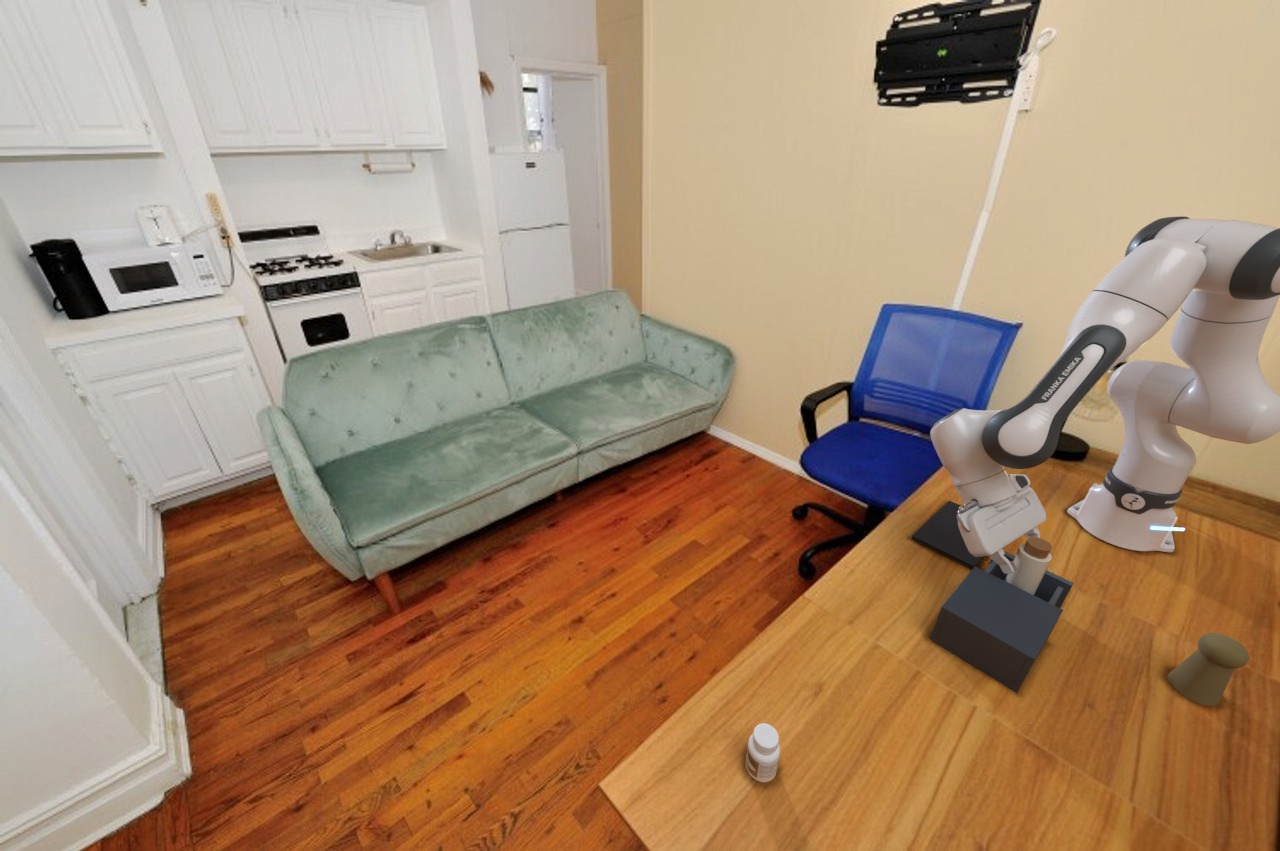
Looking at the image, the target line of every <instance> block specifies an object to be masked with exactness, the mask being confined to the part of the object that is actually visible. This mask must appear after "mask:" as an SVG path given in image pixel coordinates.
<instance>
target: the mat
mask: <svg viewBox="0 0 1280 851" xmlns="http://www.w3.org/2000/svg"><path fill="white" fill-rule="evenodd" d="M960 506H962V505H961V504H959V503H956V502H954V501H951V500H947V502H946V503H945V504H944V505H943V506H942V507H941V508H939V509H938V510H937V511H936V512H935V513H934V514H933V515H932V516H931V517H930V518H929V519H928V520H927V521H926V522H925V523H923V525H921V526H920V527H919V528H918V530H916V531H915V532H914V533H913V534H912V535H911V538H910V539H911V540H913V541H915V542H917V543H919V544H921V545H923V546H925V547H927V548H928V549H931V550H932V551H935V552H936V553H938V554H940V555H942V556H945V557H946V558H949V559H950V560H953V561H955V562H956V563H958V564H961V565H962V566H964V567H966V568H969V569H971V570H972V569H973V568H974V567H978V565H979V564H980V563H981V561H982V560H983V559H984V558H985V556H983V557H975V556H973V555H972V554H971V553H970V552H969V551H968V549H967V547H966V544H965V542H964V540H963V537H962V535H961V532H960V529H959V526H958V519H957V514H958V508H959V507H960Z"/></svg>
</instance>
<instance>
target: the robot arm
mask: <svg viewBox="0 0 1280 851" xmlns="http://www.w3.org/2000/svg"><path fill="white" fill-rule="evenodd" d="M1279 299H1280V228H1279V227H1275V226H1271V225H1266V224H1262V223H1256V222H1251V221H1243V220H1237V219H1228V220H1226V219H1215V218H1190V217H1188V216H1168V217H1166V216H1165V217H1161V218H1158V219H1155V220H1154V221H1151V222H1150V223H1149V224H1147V225H1145V226H1144V227H1142V228H1140V230H1139V231H1137V233H1135V234H1134V236H1133V237H1132V238H1131V240H1130V242H1129V243H1128V245H1127V247H1126V249H1125V254H1124V257H1123V258H1122V259H1121V260H1120V261H1119V262H1118V263H1117V264H1116V265H1115V266H1114V267H1113V268H1112V269H1111V270H1110V271H1108V273H1107V274H1106V275H1105V276H1104V277H1103V278H1102V279H1101V280H1100V281H1099V283H1097V285H1096V286H1095V287H1094V288H1093V290H1092V291H1091V292H1089V294H1088V295H1087V297H1085V299H1084V300H1083V301H1082V303H1081V304H1080V306H1079V308H1078V309H1077V311H1076V312H1075V314H1074V316H1073V317H1072V319H1071V321H1070V322H1069V324H1068V326H1067V329H1066V334H1065V341H1064V344H1063V347H1062V349H1061V351H1060V353H1059V355H1058V356H1057V358H1056V360H1055V361H1054V363H1053V364H1052V365H1051V366H1050V367H1049V368H1048V369H1047V371H1046V372H1045V374H1044V375H1043V376H1042V377H1041V379H1040V380H1038V382H1037V383H1036V384H1035V385H1034V387H1033V388H1032V389H1031V390H1030V391H1029V392H1028V394H1027V395H1026V396H1025V397H1024V398H1023V399H1022V400H1021V401H1019V402H1018V403H1017V404H1015V405H1013V406H1012V407H1009V408H1005V409H994V410H992V409H991V410H990V409H989V410H983V409H982V410H981V409H979V410H978V409H970V408H969V409H968V408H966V407H965V408H964V407H963V408H957V409H956V410H954V411H952V412H949V413H948V414H947V415H945V416H943V417H942V418H940V419H939V420H937V421H936V422H934V424H933V425H932V427H931V428H930V432H929V435H930V439H931V443H932V445H933V448H934V450H935V452H936V454H937V456H938V458H939V460H940V463H941V464H942V467H943V468H944V469H945V470H946V471H947V472H948V473H949V474H950V477H951V480H952V485H953V487H954V489H955V491H956V492H957V495H958V496H959V498H960V500H961V502H962V505H961V506H960V507H959V508H958V514H957V519H958V526H959V529H960V532H961V535H962V537H963V540H964V542H965V544H966V547H967V549H968V551H969V552H970V553H971V554H972V555H973V556H975V557H983V556H984V557H989V559H990V560H991V559H992V560H993V561H994V562H996V563H997V564H998V565H999V566H1000V568H1001V570H1002V571H1003V573H1005V574H1010V573H1013V572H1014V571H1016V570H1017V568H1016V566H1015V564H1014V562H1013V561H1009V560H1008V559H1007V558H1006V557H1005V556H1004V554H1005V553H1004V551H1005V550H1004V548H1006V547H1007V546H1009V545H1010V544H1011V543H1013V542H1015V541H1016V540H1018V539H1020V538H1022V536H1026V540H1027V539H1028V538H1029V537H1038V538H1041V532H1040V530H1039V529H1038V526H1040V525H1042V524H1043V523H1045V522H1046V521H1047V513H1046V510H1045V508H1044V506H1043V504H1042V502H1041V500H1040V498H1039V496H1038V495H1037V493H1036V492H1035V490H1034V488H1032V487H1030V485H1031V480H1030V478H1029V477H1028V476H1027V474H1023V473H1022V474H1021V473H1020V474H1019V473H1018V474H1016V473H1007V471H1006V468H1009V469H1013V470H1026V469H1027V470H1028V469H1031V468H1035V467H1038V466H1040V465H1042V464H1044V463H1046V461H1048V460H1049V459H1050V458H1051V457H1052V456H1053V454H1054V453H1055V452H1056V449H1057V446H1058V444H1059V439H1060V434H1061V431H1062V427H1063V424H1064V422H1065V421H1066V420H1067V418H1068V417H1069V416H1070V415H1071V413H1072V412H1073V411H1074V410H1075V408H1076V407H1077V406H1078V405H1079V404H1080V403H1081V401H1082V400H1083V399H1084V398H1085V397H1086V396H1087V395H1088V393H1089V392H1090V391H1091V390H1092V388H1093V387H1094V386H1095V385H1096V384H1097V383H1098V382H1099V381H1100V380H1101V379H1102V377H1104V375H1106V374H1107V373H1108V372H1109V371H1110V370H1112V369H1113V368H1114V367H1116V366H1118V364H1120V363H1122V362H1123V361H1125V360H1126V359H1127V358H1129V357H1131V355H1132V354H1134V353H1135V352H1137V351H1138V350H1139V349H1140V348H1142V347H1143V346H1144V345H1145V344H1146V343H1148V342H1149V341H1150V340H1151V339H1152V338H1153V337H1154V336H1155V335H1156V334H1157V333H1158V332H1159V331H1160V330H1161V329H1162V328H1163V327H1165V325H1166V324H1167V323H1168V321H1169V320H1171V318H1172V317H1173V316H1174V315H1175V314H1176V312H1177V311H1178V310H1179V308H1180V310H1179V313H1178V316H1177V318H1176V321H1175V323H1174V326H1173V329H1172V333H1171V335H1170V338H1169V344H1170V348H1171V351H1172V353H1173V354H1174V355H1175V357H1177V358H1178V359H1179V360H1180V361H1181V362H1183V363H1184V364H1185V365H1186V366H1187V367H1185V366H1181V365H1177V364H1173V363H1169V362H1165V361H1159V360H1158V361H1157V360H1147V359H1132V360H1131V361H1128V362H1126V363H1124V364H1122V365H1120V366H1119V367H1118V368H1117V369H1115V371H1114V372H1113V373H1112V374H1111V375H1110V377H1109V380H1108V382H1107V392H1108V396H1109V399H1110V400H1112V402H1113V403H1114V404H1115V406H1116V407H1117V409H1118V410H1119V412H1120V414H1121V417H1122V420H1123V424H1124V433H1125V434H1124V441H1123V444H1122V446H1121V449H1120V452H1119V454H1118V457H1117V459H1116V460H1115V463H1114V465H1113V466H1112V467H1110V468H1109V470H1108V471H1107V472H1106V474H1105V476H1104V478H1103V481H1102V482H1101V483H1100V484H1098V483H1093V484H1092V485H1091V486H1090V487H1089V489H1088V492H1087V493H1086V496H1085V498H1084V499H1082V500H1080V501H1079V502H1077V503H1075V504H1073V505H1072V506H1070V507H1069V508H1068V509H1066V513H1067V514H1068V515H1070V517H1072V518H1074V519H1075V520H1076V521H1077V522H1078V523H1079V525H1080V526H1081V527H1082V528H1083V529H1084V530H1085V531H1087V532H1088V533H1089V534H1090V535H1092V536H1094V537H1096V538H1097V539H1098V540H1101V541H1104V542H1105V543H1108V544H1110V545H1113V546H1115V547H1118V548H1122V549H1125V550H1130V551H1135V552H1136V551H1137V552H1157V551H1158V552H1163V553H1173V552H1174V551H1175V548H1176V547H1175V542H1174V536H1173V532H1185V530H1186V528H1185V527H1176V526H1175V525H1176V523H1177V521H1178V518H1179V517H1178V516H1177V512H1176V511H1175V508H1174V507H1175V505H1176V504H1177V503H1178V502H1179V500H1180V498H1181V496H1182V493H1183V489H1182V488H1183V486H1184V484H1185V483H1186V481H1187V479H1188V478H1189V477H1190V474H1191V473H1192V471H1193V470H1194V467H1195V466H1196V464H1197V456H1196V453H1195V451H1194V449H1193V447H1192V446H1191V445H1190V444H1189V443H1187V441H1186V440H1184V439H1183V438H1182V437H1181V435H1180V433H1179V432H1178V429H1177V426H1178V427H1181V428H1183V429H1186V430H1189V431H1192V432H1195V433H1198V434H1201V435H1204V436H1207V437H1210V438H1212V439H1213V438H1214V439H1218V440H1223V441H1229V442H1233V443H1237V444H1238V443H1239V444H1244V445H1251V444H1257V443H1261V442H1263V441H1266V440H1269V439H1270V438H1272V437H1273V436H1275V435H1276V434H1278V433H1279V432H1280V394H1279V393H1278V392H1277V391H1275V389H1273V387H1272V386H1271V385H1270V384H1269V382H1268V381H1267V380H1266V378H1265V376H1264V373H1263V371H1262V369H1261V366H1260V361H1259V352H1260V347H1261V344H1262V340H1263V338H1264V335H1265V333H1266V330H1267V327H1268V325H1269V322H1270V321H1271V319H1272V316H1273V314H1274V311H1275V309H1276V307H1277V305H1278V302H1279ZM1004 467H1005V468H1004ZM1174 526H1175V527H1174Z"/></svg>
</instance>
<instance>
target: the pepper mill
mask: <svg viewBox="0 0 1280 851" xmlns="http://www.w3.org/2000/svg"><path fill="white" fill-rule="evenodd" d="M1052 549H1053V546H1052V544H1051V543H1050V542H1049V541H1047V540H1046V539H1043V538H1041V537H1040V538H1038V537H1029V538H1028V539H1027V538H1026V541H1025V542H1024V543H1021V544H1020V545H1019V547H1018V549H1017V551H1016V553H1015V555H1014V556H1015V558H1014V560H1013V562H1014V564H1015V566H1016V568H1017V570H1016V571H1014V572H1013V573H1010V574H1007V576H1006V579H1005V581H1006V582H1008V583H1010V584H1012V585H1014V586H1016V587H1018V588H1020V589H1022V590H1024V591H1026V592H1028V593H1030V594H1032V595H1035V593H1036V590H1037V588H1038V586H1039V584H1040V582H1041V580H1042V578H1043V576H1044V574H1045V572H1046V570H1047V569H1049V566H1050V564H1051V563H1052V562H1051V561H1052V560H1053V555H1052V553H1051V551H1052Z"/></svg>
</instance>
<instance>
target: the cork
mask: <svg viewBox="0 0 1280 851" xmlns="http://www.w3.org/2000/svg"><path fill="white" fill-rule="evenodd" d="M1249 660H1250V655H1249V652H1248V649H1247V648H1246V647H1245V646H1244V645H1243V644H1242V643H1241V642H1239V641H1238V640H1235V639H1234V638H1232V637H1230V636H1228V635H1225V634H1224V633H1223V634H1222V633H1219V632H1207V633H1206V634H1205V633H1204V634H1203V635H1201V636H1200V637H1199V639H1198V641H1197V649H1196V650H1195V651H1194V652H1192V653H1191V654H1190V655H1189V656H1188V657H1187V658H1186V659H1184V660H1183V661H1182V662H1181V663H1180V664H1178V665H1177V666H1176V667H1175V668H1174V669H1173V670H1171V671H1170V672H1169V673H1168V674H1167V680H1168V682H1169V684H1170V686H1171V687H1172V688H1173V689H1174V690H1175V691H1176V692H1177V693H1179V694H1180V695H1182V696H1183V697H1185V698H1186V699H1188V700H1190V701H1192V702H1194V703H1196V704H1199V705H1201V706H1205V707H1215V706H1218V705H1219V703H1220V702H1221V699H1222V697H1223V695H1224V693H1225V691H1226V688H1227V686H1228V684H1229V682H1230V680H1231V678H1232V676H1233V674H1234V671H1235V670H1236V669H1241V668H1243V667H1245V666H1246V665H1247V663H1249Z"/></svg>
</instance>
